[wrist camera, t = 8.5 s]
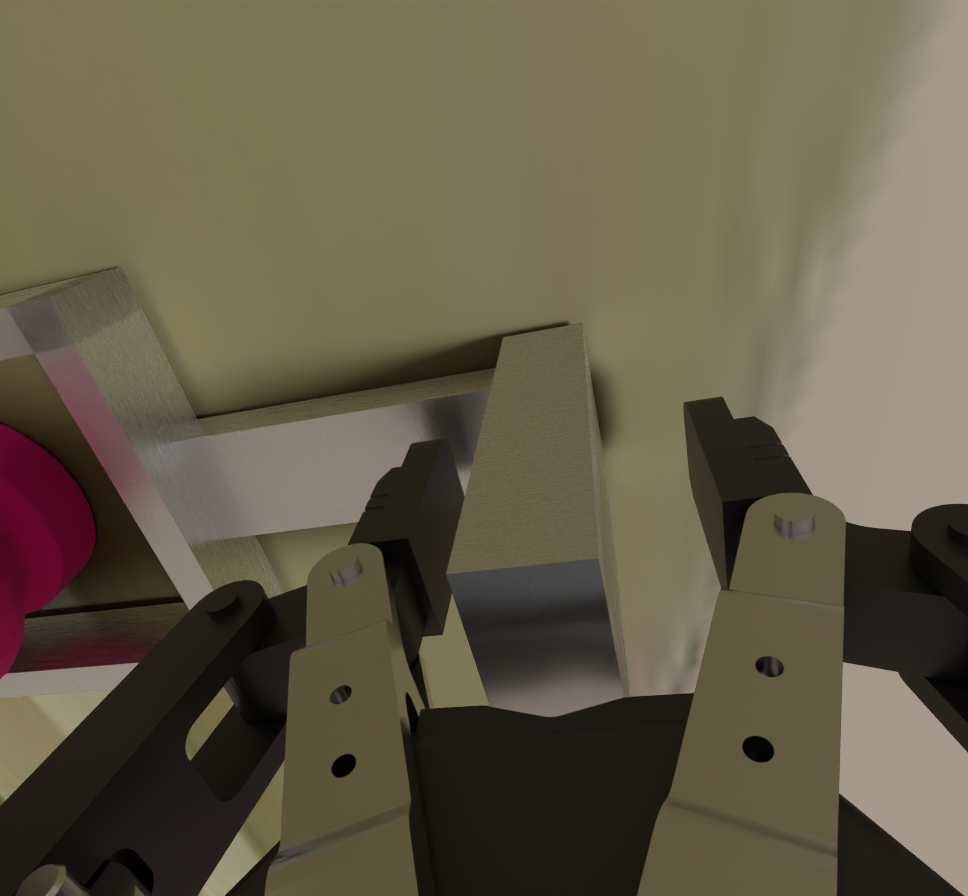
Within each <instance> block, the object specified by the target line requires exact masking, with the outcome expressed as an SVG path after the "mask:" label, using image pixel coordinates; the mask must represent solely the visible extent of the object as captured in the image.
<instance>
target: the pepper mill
mask: <svg viewBox="0 0 968 896" xmlns="http://www.w3.org/2000/svg"><path fill="white" fill-rule="evenodd" d="M95 538H96V530H95V524H94V519H93V515H92V510H91V507H90V505H89V503H88V501H87V500H86V498H85V496H84V494H83V492H82V490H81V489H80V487H79V485H78V484H77V482H76V481H75V480H74V479H73V478H72V476H71V475H70V474H69V473H68V472H67V470H66V469H65V468H64V467H63V466H62V465H61V463H60V462H59V461H58V460H57V459H56V458H54V457H53V456H52V455H51V454H49V453H48V452H47V451H46V450H44V449H43V448H42V447H41V446H40V445H38V444H37V443H36V442H34V441H33V440H31V439H29V438H28V437H26V436H25V435H23V434H21V433H20V432H18V431H16V430H15V429H13V428H11V427H9V426H6V425H4V424H1V423H0V679H1V678H2V677H3V676H4V675H5V674H6V673H7V671H8V670H9V668H10V667H11V666H12V664H13V663H14V660H15V658H16V656H17V653H18V651H19V649H20V645H21V641H22V638H23V634H24V623H25V614H26V613H30V612H33V611H35V610H38V609H40V608H42V607H43V606H44V605H46V604H47V603H49V602H50V601H51V600H52V599H53V598H54V597H55V596H56V595H57V594H58V593H59V592H60V591H61V590H62V589H63V588H64V587H65V586H66V585H67V584H68V583H69V582H70V581H71V580H72V579H73V578H74V577H75V576H76V575H77V574H78V573H79V572H80V571H81V570H82V569H83V568H84V567H85V565H86V564H87V563H88V561H89V559H90V557H91V555H92V553H93V549H94V544H95Z"/></svg>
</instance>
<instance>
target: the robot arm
mask: <svg viewBox="0 0 968 896" xmlns="http://www.w3.org/2000/svg"><path fill="white" fill-rule="evenodd" d="M684 422H685V433H686V445H687V456H688V467H689V476H690V482H691V488H692V493H693V497H694V500H695V504H696V507H697V510H698V513H699V517H700V520H701V523H702V527H703V530H704V533H705V536H706V540H707V543H708V546H709V549H710V553H711V556H712V559H713V562H714V566H715V569H716V572H717V576H718V579H719V582H720V585H721V590H720V592H719V594H718V598H717V601H716V605H715V610H714V614H713V618H712V622H711V626H710V630H709V634H708V638H707V643H706V647H705V651H704V655H703V659H702V663H701V667H700V672H699V676H698V680H697V684H696V688H695V692H694V693H688V694H671V695H654V696H637V697H623V698H620V699H616V700H613V701H609V702H606V703H602V704H599V705H595V706H592V707H588V708H585V709H581V710H578V711H574V712H571V713H567V714H564V715H561V716H556V717H544V716H539V715H533V714H528V713H522V712H517V711H511V710H506V709H501V708H495V707H490V706H467V707H450V708H433V704H432V699H431V694H430V689H429V684H428V679H427V675H426V670H425V665H424V661H423V658H422V656H421V653H420V650H419V649H420V645H421V641H422V637H424V636H436V635H443V631H444V626H445V622H446V617H447V613H448V608H449V603H450V599H451V594H452V591H451V588H450V585H449V581H448V579H447V575H446V573H447V569H448V564H449V560H450V556H451V552H452V548H453V544H454V539H455V535H456V531H457V527H458V523H459V519H460V514H461V510H462V506H463V502H464V498H465V496H464V493H463V489H462V486H461V482H460V479H459V475H458V472H457V469H456V465H455V462H454V458H453V455H452V452H451V448H450V445H449V443H448V441H447V440H446V439H445V438H441V439H435V440H428V441H422V442H415V443H412V444H411V445H410V447H409V449H408V452H407V454H406V456H405V459H404V461H403V464H402V466H401V467H394V468H391V469H390V470H389V471H388V472H387V473H386V474H385V475H384V476H383V477H382V478H381V479H380V480H379V481H378V482H377V483H376V485H375V487H374V490H373V492H372V494H371V496H370V498H371V499H370V500H368V502H367V505H366V507H365V512H363V513H362V515H361V517H360V520H359V522H358V524H357V526H356V528H355V530H354V532H353V535H352V537H351V539H350V541H349V543H348V545H347V546H344V547H341V548H339V549H336V550H334V551H332V552H330V553H329V554H327V555H326V556H324V557H323V558H322V559H320V560H319V561H318V562H317V563H316V564H315V565H314V567H313V568H312V569H311V571H310V573H309V575H308V580H307V585H306V586H303V587H301V588H298V589H295V590H292V591H289V592H286V593H283V594H280V595H277V596H274V597H271V598H268V597H267V595H266V593H265V591H264V589H263V587H262V586H261V584H259V583H258V582H256V581H252V580H241V581H236V582H232V583H229V584H226V585H224V586H221V587H219V588H217V589H215V590H214V591H212V592H210V593H209V594H207V595H206V596H205V597H203V598H202V599H201V600H200V601H199V602H198V603H197V604H196V605H195V606H194V607H193V608H192V609H191V610H190V611H189V612H188V613H187V614H186V615H185V616H184V617H183V618H182V619H181V620H180V621H179V622H178V623H177V624H176V625H175V626H174V627H173V628H172V629H171V630H170V631H169V632H168V633H167V635H166V636H165V637H164V638H163V639H162V640H161V641H160V642H159V643H158V644H157V645H156V646H155V647H154V648H153V649H152V650H151V651H150V652H149V653H148V654H147V655H146V656H145V657H144V658H143V659H142V660H141V661H140V662H139V663H138V664H137V666H136V667H135V668H134V669H133V670H132V671H131V672H130V673H129V674H128V675H127V676H126V677H125V678H124V679H123V680H122V681H121V682H120V683H119V684H118V685H117V686H116V687H115V688H114V689H113V690H112V691H111V692H110V693H109V694H108V695H107V697H106V698H105V699H104V700H103V701H102V702H101V703H100V704H99V705H98V706H97V707H96V708H95V709H94V710H93V711H92V712H91V713H90V714H89V715H88V716H87V717H86V718H85V719H84V720H83V721H82V722H81V723H80V724H79V725H78V726H77V728H76V729H75V730H74V731H73V732H72V733H71V734H70V735H69V736H68V737H67V738H66V739H65V740H64V741H63V742H62V743H61V744H60V745H59V746H58V747H57V748H56V749H55V750H54V751H53V752H52V753H51V754H50V755H49V756H48V757H47V759H46V760H45V761H44V762H43V763H42V764H41V765H40V766H39V767H38V768H37V769H36V770H35V771H34V772H33V773H32V774H31V775H30V776H29V777H28V778H27V779H26V780H25V781H24V782H23V783H22V784H21V785H20V786H19V787H18V788H17V790H16V791H15V792H14V793H13V794H12V795H11V796H10V797H9V798H8V799H7V800H6V801H5V802H4V803H3V804H2V805H1V806H0V896H198V894H199V892H200V891H201V889H202V888H203V886H204V885H205V883H206V882H207V880H208V878H209V877H210V875H211V874H212V872H213V871H214V869H215V867H216V866H217V864H218V863H219V861H220V860H221V858H222V857H223V855H224V853H225V852H226V850H227V849H228V847H229V846H230V844H231V842H232V841H233V839H234V838H235V836H236V835H237V833H238V832H239V830H240V828H241V827H242V825H243V824H244V822H245V821H246V819H247V818H248V816H249V814H250V813H251V811H252V810H253V808H254V807H255V805H256V803H257V802H258V800H259V799H260V797H261V796H262V794H263V793H264V791H265V789H266V788H267V786H268V785H269V783H270V782H271V780H272V778H273V777H274V775H275V774H276V772H277V771H278V769H279V768H280V766H281V764H282V763H283V761H284V760H285V763H284V782H283V801H282V819H281V838H280V841H279V842H278V843H277V844H276V845H275V846H274V847H273V848H272V849H271V850H270V851H269V852H268V853H267V854H266V855H265V856H264V857H263V858H262V859H261V860H260V861H259V862H258V863H257V864H256V865H255V866H254V867H253V868H252V869H251V870H250V871H249V872H248V873H247V874H246V875H245V876H244V877H243V878H242V879H241V880H240V881H239V882H238V883H237V884H236V885H235V886H234V887H233V888H232V889H231V890H230V891H229V892H228V893H227V894H226V895H225V896H964V895H963V894H961V893H960V892H959V891H958V890H956V889H955V888H954V887H953V886H951V885H950V884H949V883H948V882H947V881H946V880H944V879H943V878H942V877H941V876H939V875H938V874H937V873H936V872H935V871H933V870H932V869H931V868H929V867H928V866H927V865H926V864H925V863H924V862H922V861H921V860H920V859H919V858H917V857H916V856H915V855H914V854H913V853H911V852H910V851H909V850H908V849H906V848H905V847H904V846H903V845H902V844H900V843H899V842H898V841H897V840H895V839H894V838H893V837H892V836H891V835H889V834H888V833H887V832H886V831H884V830H883V829H882V828H881V827H880V826H878V825H877V824H876V823H875V822H874V821H872V820H871V819H870V818H869V817H867V816H866V815H865V814H863V812H861V811H860V810H859V809H858V808H857V807H855V806H854V805H853V804H852V803H850V802H849V801H848V800H846V798H844V797H843V796H842V795H840V794H839V773H840V772H839V771H840V738H841V737H840V736H841V704H842V668H843V662H846V663H852V664H857V665H863V666H868V667H874V668H880V669H885V670H891V671H896V672H898V673H899V675H900V677H901V678H902V680H903V681H904V682H905V683H906V685H907V686H908V687H909V688H910V689H911V690H912V691H913V692H914V693H915V694H916V695H917V697H918V698H919V699H920V700H921V701H922V702H923V703H924V705H925V706H926V707H927V708H928V709H929V710H930V711H931V712H932V713H933V714H934V716H935V717H936V718H937V719H938V720H939V721H940V722H941V723H942V724H943V726H944V727H945V728H946V729H947V730H948V731H949V732H950V733H951V734H952V735H953V737H954V738H955V739H956V740H957V741H958V742H959V743H960V744H961V746H962V747H963V748H964V749H965V750H966V751H967V752H968V504H947V505H940V506H935V507H932V508H929V509H927V510H924V511H923V512H921V513H920V514H918V515H917V516H916V517H915V519H914V520H913V523H912V528H911V531H902V530H891V529H879V528H871V527H864V526H859V525H855V524H851V523H848V522H846V520H845V517H844V514H843V513H842V512H841V510H840V509H839V508H838V507H836V506H835V505H834V504H832V503H831V502H829V501H827V500H824V499H822V498H820V497H817V496H813V494H812V493H811V491H810V489H809V488H808V486H807V484H806V483H805V481H804V480H803V478H802V476H801V474H800V473H799V471H798V469H797V468H796V466H795V464H794V462H793V461H792V460H791V457H789V454H788V452H787V451H786V449H785V447H784V446H783V445H782V444H781V441H780V439H779V437H778V436H777V434H776V432H775V431H774V429H773V427H771V426H769V425H768V424H766V423H764V422H763V421H761V420H759V419H757V418H756V417H754V416H753V417H746V418H739V419H733V417H732V415H731V413H730V411H729V409H728V407H727V405H726V403H725V401H724V399H723V397H716V398H709V399H703V400H696V401H689V402H684ZM222 687H224V688H225V690H226V692H227V693H228V695H229V696H230V698H231V700H232V701H233V703H234V705H233V706H232V708H231V709H230V710H229V712H228V713H227V714H226V715H225V717H224V718H223V719H222V721H221V722H220V723H219V725H218V726H217V727H216V728H215V730H214V731H213V732H212V734H211V735H210V736H209V738H208V739H207V740H206V741H205V743H204V744H203V745H202V747H201V748H200V749H199V751H198V752H197V753H196V755H195V756H194V757H193V758H192V760H191V761H190V760H189V759H188V757H187V755H186V750H185V744H186V739H187V735H188V733H189V730H190V728H191V727H192V725H193V724H194V722H195V721H196V720H197V719H198V717H199V716H200V715H201V714H202V712H203V711H204V710H205V709H206V707H207V706H208V705H209V704H210V702H211V701H212V700H213V699H214V697H215V696H216V695H217V694H218V692H219V691H220V690H221V689H222Z"/></svg>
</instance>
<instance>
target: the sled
mask: <svg viewBox="0 0 968 896" xmlns="http://www.w3.org/2000/svg"><path fill="white" fill-rule="evenodd" d="M30 354H35V356H36V357H37V359H38V361H39V362H40V364H41V366H42V367H43V369H44V371H45V372H46V374H47V376H48V377H49V379H50V381H51V382H52V384H53V386H54V387H55V389H56V391H57V392H58V394H59V395H60V397H61V399H62V400H63V402H64V404H65V405H66V407H67V409H68V410H69V412H70V414H71V415H72V417H73V419H74V420H75V422H76V424H77V425H78V427H79V428H80V430H81V432H82V433H83V435H84V437H85V438H86V440H87V442H88V443H89V445H90V447H91V448H92V450H93V452H94V453H95V455H96V457H97V458H98V460H99V462H100V463H101V465H102V466H103V468H104V470H105V471H106V473H107V475H108V476H109V478H110V480H111V481H112V483H113V485H114V486H115V488H116V490H117V491H118V493H119V495H120V496H121V498H122V500H123V501H124V503H125V504H126V506H127V508H128V509H129V511H130V513H131V514H132V516H133V518H134V519H135V521H136V523H137V524H138V526H139V528H140V529H141V531H142V533H143V534H144V536H145V537H146V539H147V541H148V542H149V544H150V546H151V547H152V549H153V551H154V552H155V554H156V556H157V557H158V559H159V561H160V562H161V564H162V566H163V567H164V569H165V571H166V572H167V574H168V575H169V577H170V579H171V580H172V582H173V584H174V585H175V587H176V589H177V590H178V592H179V594H180V595H181V597H182V599H183V600H184V602H182V603H172V604H163V605H153V606H144V607H134V608H124V609H115V610H105V611H96V612H86V613H76V614H67V615H57V616H48V617H38V618H28V619H25V623H24V634H23V638H22V641H21V645H20V649H19V651H18V653H17V656H16V658H15V660H14V663H13V664H12V666H11V667H10V668H9V670H8V671H7V673H6V674H5V675H4V676H3V677H2V678H1V679H0V698H6V697H20V696H34V695H47V694H61V693H75V692H88V691H102V690H113V689H114V688H115V687H116V686H117V685H118V684H119V683H120V682H121V681H122V680H123V679H124V678H125V677H126V676H127V675H128V674H129V673H130V672H131V671H132V670H133V669H134V668H135V667H136V666H137V664H138V663H139V662H140V661H141V660H142V659H143V658H144V657H145V656H146V655H147V654H148V653H149V652H150V651H151V650H152V649H153V648H154V647H155V646H156V645H157V644H158V643H159V642H160V641H161V640H162V639H163V638H164V637H165V636H166V635H167V633H168V632H169V631H170V630H171V629H172V628H173V627H174V626H175V625H176V624H177V623H178V622H179V621H180V620H181V619H182V618H183V617H184V616H185V615H186V614H187V613H188V612H189V611H190V610H191V609H192V608H193V607H194V606H195V605H196V604H197V603H198V602H199V601H200V600H201V599H202V598H203V597H205V596H206V595H207V594H209V593H210V592H212V591H214V590H215V589H217V588H219V587H221V586H224V585H226V584H229V583H232V582H236V581H241V580H252V581H256V582H258V583H259V584H261V586H262V587H263V589H264V591H265V593H266V595H267V597H268V598H271V597H274V596H277V595H280V594H283V593H284V592H283V590H282V588H281V586H280V584H279V582H278V580H277V578H276V576H275V574H274V572H273V570H272V568H271V566H270V564H269V562H268V560H267V558H266V556H265V554H264V552H263V550H262V548H261V546H260V544H259V542H258V540H257V538H256V536H255V535H260V534H268V533H276V532H284V531H292V530H300V529H308V528H316V527H324V526H331V525H339V524H347V523H355V522H359V520H360V517H361V515H362V513H363V512H365V507H366V505H367V502H368V500H370V499H371V498H370V496H371V494H372V492H373V490H374V487H375V485H376V483H377V482H378V481H379V480H380V479H381V478H382V477H383V476H384V475H385V474H386V473H387V472H388V471H389V470H390V469H391V468H394V467H401V466H402V464H403V461H404V459H405V456H406V454H407V452H408V449H409V447H410V445H411V444H412V443H415V442H422V441H428V440H435V439H441V438H445V439H446V440H447V441H448V443H449V445H450V448H451V452H452V455H453V458H454V462H455V465H456V469H457V472H458V475H459V479H460V482H461V486H462V489H463V493H464V496H465V498H464V502H463V506H462V510H461V514H460V519H459V523H458V527H457V531H456V535H455V539H454V544H453V548H452V552H451V556H450V560H449V564H448V569H447V573H446V575H447V579H448V581H449V585H450V588H451V591H452V594H453V597H454V600H455V603H456V606H457V609H458V612H459V615H460V618H461V621H462V624H463V627H464V630H465V633H466V636H467V639H468V642H469V645H470V648H471V651H472V654H473V657H474V660H475V663H476V666H477V669H478V672H479V675H480V678H481V681H482V684H483V687H484V690H485V693H486V696H487V699H488V702H489V705H490V707H495V708H501V709H506V710H511V711H517V712H522V713H528V714H533V715H539V716H544V717H556V716H561V715H564V714H567V713H571V712H574V711H578V710H581V709H585V708H588V707H592V706H595V705H599V704H602V703H606V702H609V701H613V700H616V699H620V698H623V697H631V692H630V683H629V673H628V664H627V654H626V645H625V636H624V626H623V617H622V607H621V598H620V588H619V579H618V570H617V560H616V551H615V541H614V532H613V523H612V513H611V504H610V494H609V486H608V479H607V473H606V467H605V461H604V454H603V448H602V442H601V436H600V429H599V423H598V417H597V411H596V405H595V398H594V392H593V386H592V380H591V373H590V367H589V361H588V355H587V348H586V342H585V336H584V330H583V323H579V324H573V325H568V326H562V327H557V328H551V329H546V330H540V331H535V332H529V333H524V334H518V335H513V336H507V337H503V340H502V344H501V348H500V352H499V356H498V361H497V365H496V368H492V369H486V370H480V371H474V372H469V373H463V374H457V375H451V376H445V377H440V378H434V379H428V380H422V381H416V382H411V383H405V384H399V385H393V386H387V387H382V388H376V389H370V390H364V391H358V392H353V393H347V394H341V395H335V396H329V397H324V398H318V399H312V400H306V401H300V402H295V403H289V404H283V405H277V406H271V407H266V408H260V409H254V410H248V411H242V412H236V413H231V414H225V415H219V416H213V417H207V418H202V419H197V418H196V416H195V414H194V412H193V410H192V408H191V406H190V404H189V402H188V400H187V398H186V396H185V394H184V392H183V390H182V388H181V386H180V384H179V382H178V380H177V378H176V376H175V374H174V372H173V370H172V368H171V366H170V364H169V362H168V360H167V358H166V356H165V354H164V352H163V350H162V348H161V346H160V344H159V342H158V340H157V338H156V336H155V334H154V332H153V330H152V328H151V326H150V324H149V322H148V320H147V318H146V316H145V314H144V312H143V310H142V308H141V306H140V304H139V302H138V300H137V298H136V296H135V294H134V292H133V290H132V288H131V286H130V284H129V282H128V280H127V278H126V276H125V274H124V272H123V270H122V268H121V267H119V268H114V269H110V270H106V271H102V272H97V273H93V274H89V275H85V276H80V277H76V278H72V279H68V280H64V281H59V282H55V283H51V284H47V285H42V286H38V287H34V288H30V289H25V290H21V291H17V292H13V293H8V294H4V295H0V361H2V360H6V359H11V358H16V357H21V356H25V355H30Z"/></svg>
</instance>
